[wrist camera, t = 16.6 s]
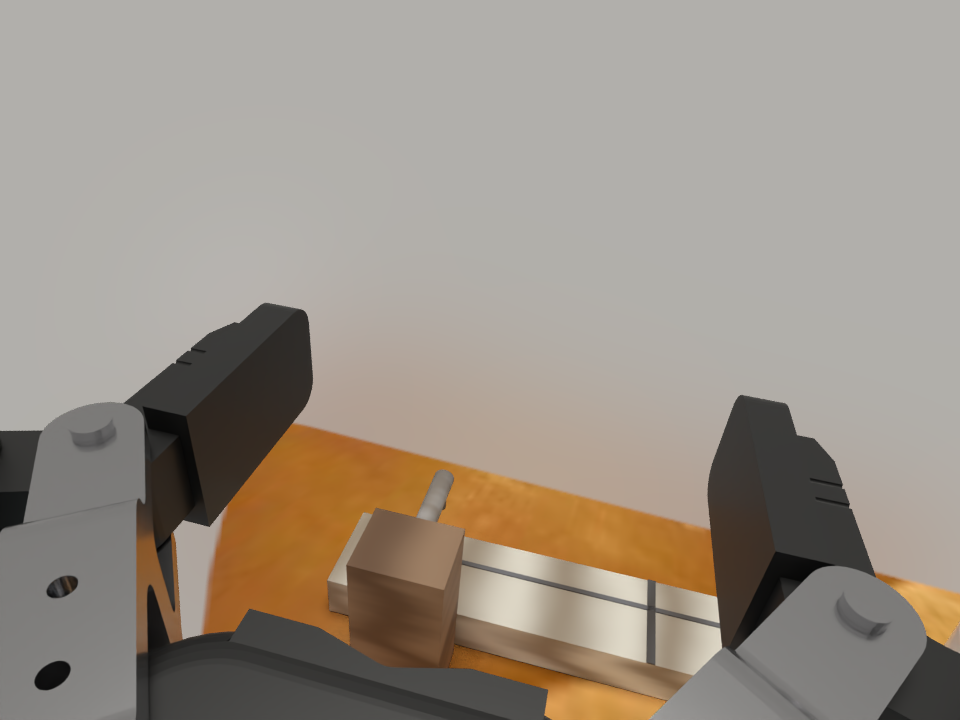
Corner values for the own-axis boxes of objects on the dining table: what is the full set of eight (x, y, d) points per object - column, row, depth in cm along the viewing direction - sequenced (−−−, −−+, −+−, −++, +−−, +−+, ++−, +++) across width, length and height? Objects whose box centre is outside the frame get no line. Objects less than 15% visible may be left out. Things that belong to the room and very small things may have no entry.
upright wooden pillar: (472, 587, 44) (486, 467, 38) (434, 714, 37) (444, 590, 31) (403, 569, 45) (406, 450, 39) (352, 690, 37) (346, 565, 31)
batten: (795, 648, 42) (812, 618, 40) (813, 739, 37) (833, 710, 35) (364, 541, 47) (363, 511, 45) (329, 610, 42) (327, 579, 40)
